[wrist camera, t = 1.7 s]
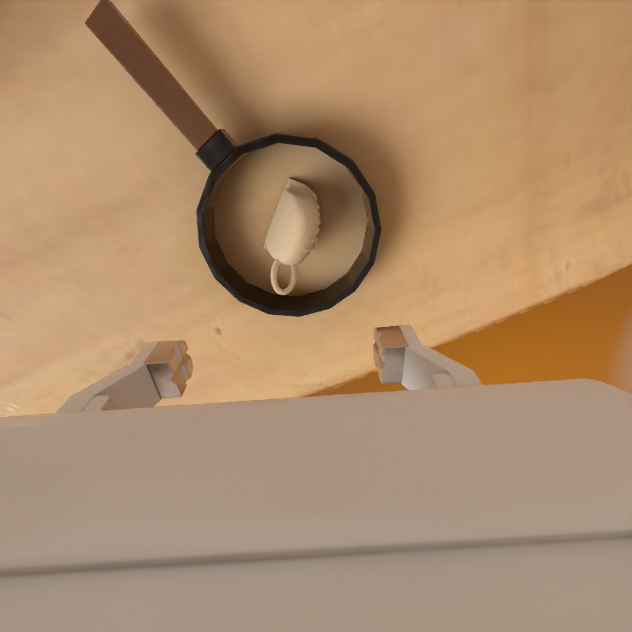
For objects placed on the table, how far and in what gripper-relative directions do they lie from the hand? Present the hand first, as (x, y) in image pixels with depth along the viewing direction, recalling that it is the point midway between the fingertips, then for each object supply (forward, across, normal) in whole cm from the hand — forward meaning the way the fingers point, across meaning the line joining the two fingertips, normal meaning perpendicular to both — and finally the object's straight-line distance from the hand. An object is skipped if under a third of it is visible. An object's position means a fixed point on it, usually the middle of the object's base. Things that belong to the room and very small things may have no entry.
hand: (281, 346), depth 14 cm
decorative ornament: (+19, 0, 0) cm, 19 cm away
